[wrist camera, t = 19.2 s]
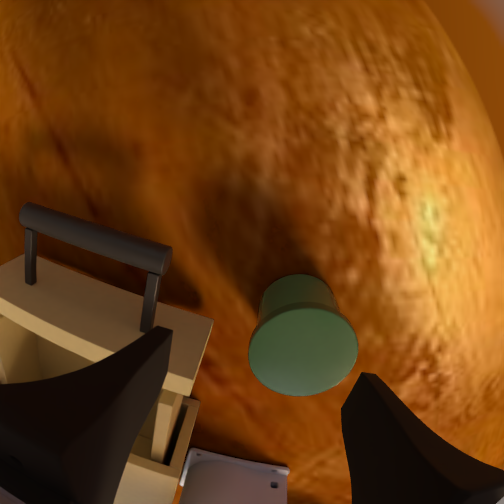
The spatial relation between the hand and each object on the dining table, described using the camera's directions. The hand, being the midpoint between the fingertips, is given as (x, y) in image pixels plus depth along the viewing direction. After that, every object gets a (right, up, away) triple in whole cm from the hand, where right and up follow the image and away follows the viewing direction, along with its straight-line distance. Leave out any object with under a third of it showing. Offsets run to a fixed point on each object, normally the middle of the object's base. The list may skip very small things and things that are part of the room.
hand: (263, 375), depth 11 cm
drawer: (-11, -1, +9) cm, 14 cm away
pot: (+2, +1, +8) cm, 9 cm away
